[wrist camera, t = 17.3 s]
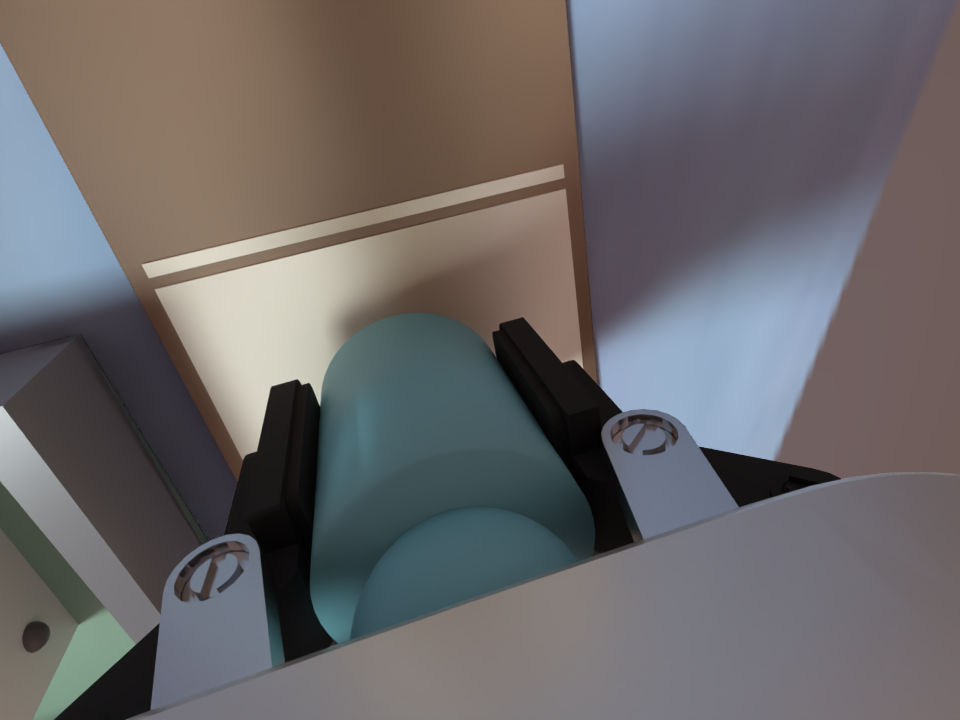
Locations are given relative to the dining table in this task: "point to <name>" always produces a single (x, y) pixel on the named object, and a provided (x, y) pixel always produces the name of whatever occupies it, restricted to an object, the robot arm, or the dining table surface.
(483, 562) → the pawn
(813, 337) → the dining table surface
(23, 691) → the die
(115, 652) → the tray
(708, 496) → the robot arm
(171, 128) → the board
